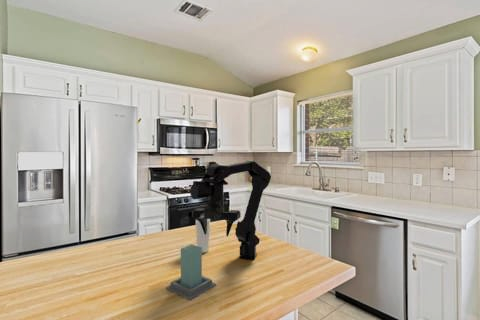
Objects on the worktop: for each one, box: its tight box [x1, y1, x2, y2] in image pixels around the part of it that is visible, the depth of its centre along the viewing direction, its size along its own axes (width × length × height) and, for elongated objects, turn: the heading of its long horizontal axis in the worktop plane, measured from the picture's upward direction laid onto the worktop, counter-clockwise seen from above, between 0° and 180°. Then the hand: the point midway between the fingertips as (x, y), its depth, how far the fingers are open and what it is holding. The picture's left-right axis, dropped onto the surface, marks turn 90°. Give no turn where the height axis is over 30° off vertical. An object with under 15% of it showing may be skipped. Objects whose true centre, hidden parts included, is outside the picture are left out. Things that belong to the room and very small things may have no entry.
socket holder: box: [165, 275, 217, 301], centre depth 92 cm, size 12×12×2 cm
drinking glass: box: [195, 219, 211, 254], centre depth 125 cm, size 7×7×15 cm
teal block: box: [180, 244, 203, 289], centre depth 92 cm, size 5×5×13 cm
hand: (216, 235), depth 108 cm, fingers open, 9 cm apart
